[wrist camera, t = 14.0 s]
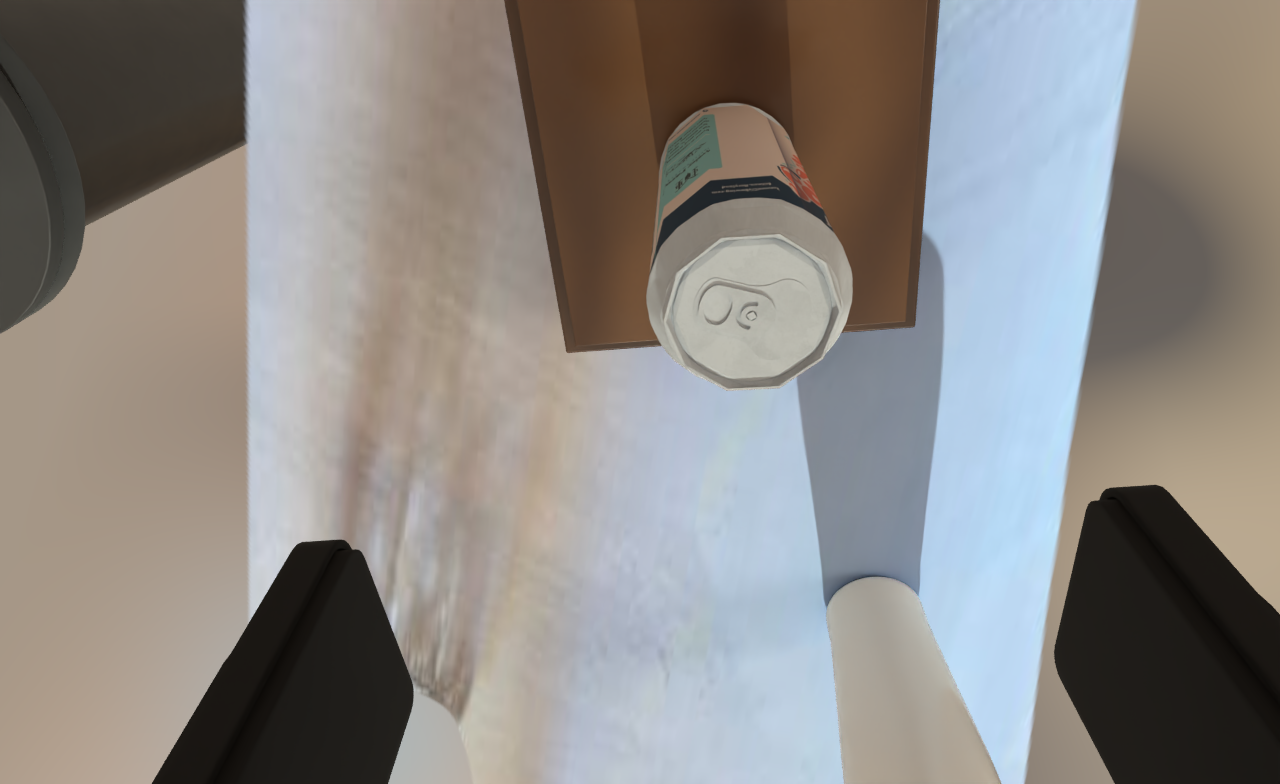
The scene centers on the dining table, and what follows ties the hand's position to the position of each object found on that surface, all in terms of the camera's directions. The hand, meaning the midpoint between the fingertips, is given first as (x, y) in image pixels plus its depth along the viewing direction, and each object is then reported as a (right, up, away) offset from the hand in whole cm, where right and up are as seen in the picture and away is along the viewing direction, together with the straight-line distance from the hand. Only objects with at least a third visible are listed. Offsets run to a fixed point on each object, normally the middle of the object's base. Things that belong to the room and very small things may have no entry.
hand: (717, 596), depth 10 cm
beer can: (+2, +11, +18) cm, 21 cm away
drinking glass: (+12, -9, +35) cm, 38 cm away
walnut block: (+2, +13, +22) cm, 25 cm away
